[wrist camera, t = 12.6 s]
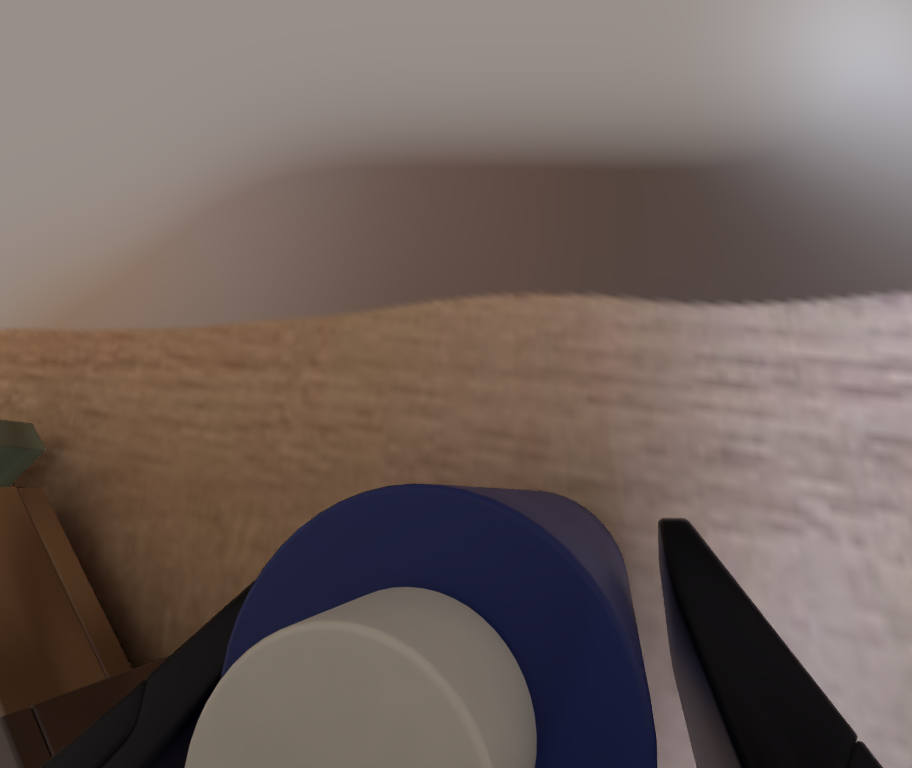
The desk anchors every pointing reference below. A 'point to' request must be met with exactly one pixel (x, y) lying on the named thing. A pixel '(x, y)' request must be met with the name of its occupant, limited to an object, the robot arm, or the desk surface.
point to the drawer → (43, 592)
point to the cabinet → (62, 718)
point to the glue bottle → (435, 641)
